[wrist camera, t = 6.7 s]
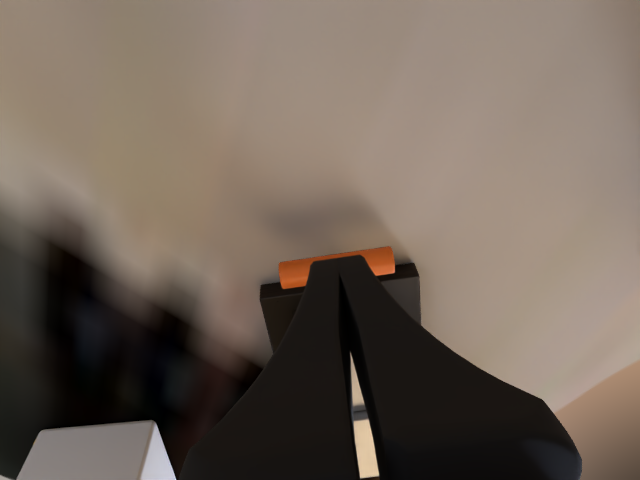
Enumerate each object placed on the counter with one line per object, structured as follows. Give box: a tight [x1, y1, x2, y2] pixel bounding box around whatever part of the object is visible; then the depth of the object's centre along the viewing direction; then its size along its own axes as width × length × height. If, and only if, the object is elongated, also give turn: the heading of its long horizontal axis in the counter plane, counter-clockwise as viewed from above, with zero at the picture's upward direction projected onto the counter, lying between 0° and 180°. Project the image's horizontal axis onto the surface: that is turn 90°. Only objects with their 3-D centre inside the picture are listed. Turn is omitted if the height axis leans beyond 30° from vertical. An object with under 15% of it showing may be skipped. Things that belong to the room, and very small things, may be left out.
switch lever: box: [279, 246, 395, 478], centre depth 23 cm, size 10×5×2 cm, turn 7°
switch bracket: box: [260, 263, 421, 354], centre depth 25 cm, size 10×8×8 cm
